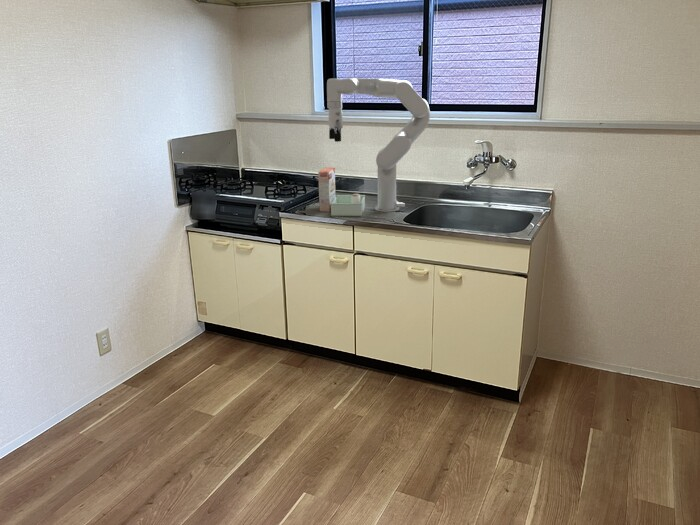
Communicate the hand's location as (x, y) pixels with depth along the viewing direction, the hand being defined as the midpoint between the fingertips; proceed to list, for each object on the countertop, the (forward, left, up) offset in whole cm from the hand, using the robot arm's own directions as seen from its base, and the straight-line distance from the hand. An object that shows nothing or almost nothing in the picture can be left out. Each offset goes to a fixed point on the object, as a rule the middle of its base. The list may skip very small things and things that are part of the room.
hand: (335, 140), depth 285 cm
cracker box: (+5, -1, -36) cm, 36 cm away
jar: (-10, +5, -35) cm, 37 cm away
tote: (-6, +5, -36) cm, 37 cm away
